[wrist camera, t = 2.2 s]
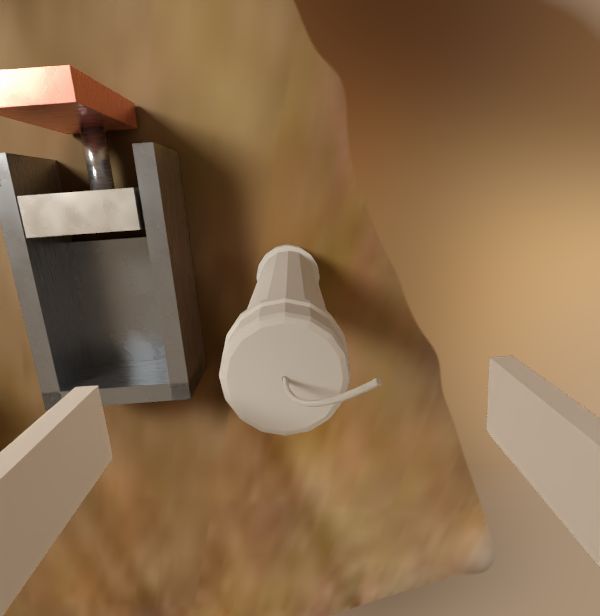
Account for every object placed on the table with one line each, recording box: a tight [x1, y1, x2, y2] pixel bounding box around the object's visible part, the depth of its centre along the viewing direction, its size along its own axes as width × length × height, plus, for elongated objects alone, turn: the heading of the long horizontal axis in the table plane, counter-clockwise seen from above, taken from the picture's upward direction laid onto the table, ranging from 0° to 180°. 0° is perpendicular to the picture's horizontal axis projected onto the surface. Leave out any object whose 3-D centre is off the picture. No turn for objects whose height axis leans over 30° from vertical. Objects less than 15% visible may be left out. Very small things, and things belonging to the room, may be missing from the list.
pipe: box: [219, 244, 381, 436], centre depth 26 cm, size 6×6×30 cm
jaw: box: [0, 65, 145, 238], centre depth 32 cm, size 10×8×11 cm
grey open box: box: [0, 142, 207, 410], centre depth 37 cm, size 20×12×7 cm, turn 4°
